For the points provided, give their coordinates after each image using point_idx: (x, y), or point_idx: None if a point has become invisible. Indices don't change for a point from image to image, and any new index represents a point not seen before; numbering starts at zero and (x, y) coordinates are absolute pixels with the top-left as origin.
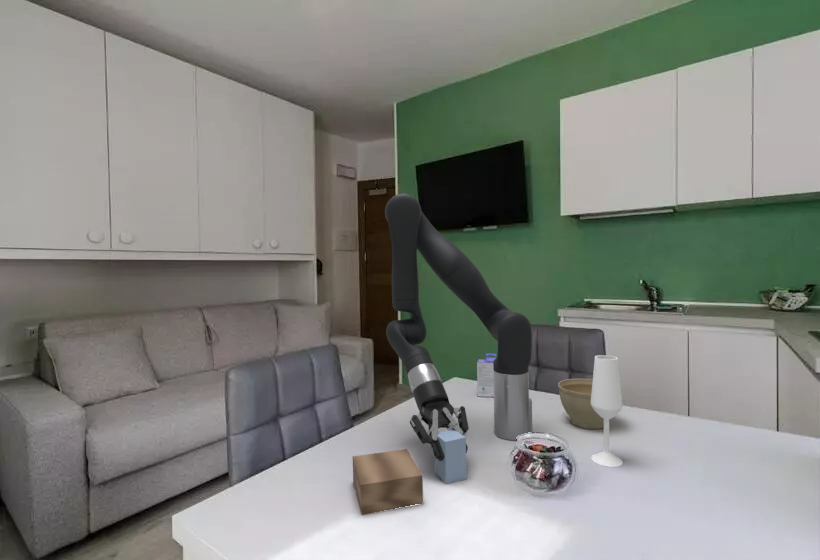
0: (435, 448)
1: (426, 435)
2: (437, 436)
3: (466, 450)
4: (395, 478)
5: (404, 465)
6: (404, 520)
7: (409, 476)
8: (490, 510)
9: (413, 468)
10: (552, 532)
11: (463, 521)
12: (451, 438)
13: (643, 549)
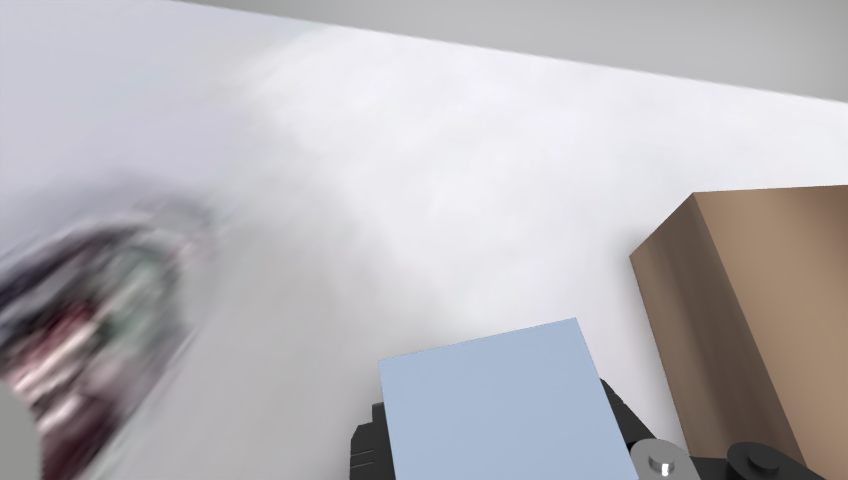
0: (624, 409)
1: (769, 464)
2: (635, 472)
3: (375, 406)
4: (834, 192)
5: (814, 310)
6: (695, 187)
7: (761, 196)
8: (400, 175)
9: (750, 262)
10: (288, 71)
11: (504, 147)
12: (509, 370)
13: (148, 5)
